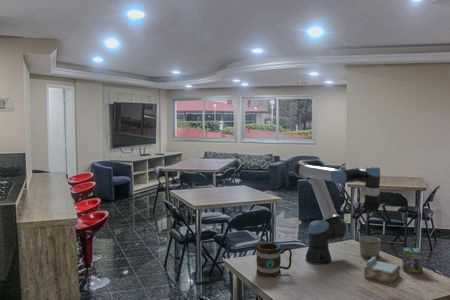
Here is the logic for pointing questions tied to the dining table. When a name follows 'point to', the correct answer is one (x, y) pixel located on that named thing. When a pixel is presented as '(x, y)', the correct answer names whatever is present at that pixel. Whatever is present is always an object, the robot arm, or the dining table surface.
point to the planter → (369, 246)
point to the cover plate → (381, 265)
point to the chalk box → (412, 260)
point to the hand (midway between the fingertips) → (370, 232)
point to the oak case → (381, 274)
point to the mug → (270, 259)
